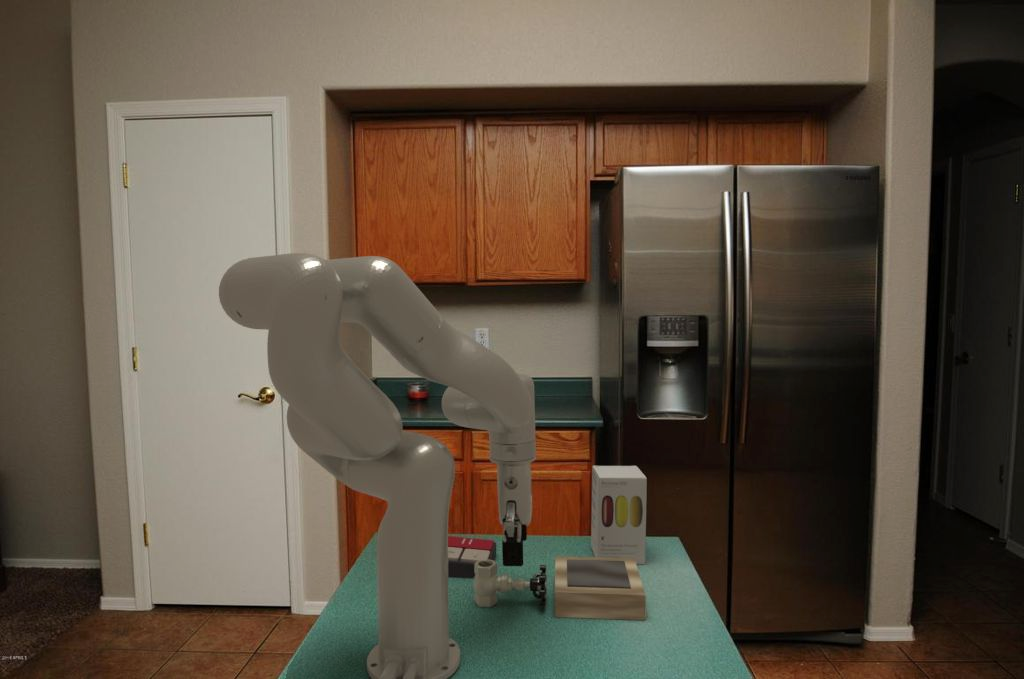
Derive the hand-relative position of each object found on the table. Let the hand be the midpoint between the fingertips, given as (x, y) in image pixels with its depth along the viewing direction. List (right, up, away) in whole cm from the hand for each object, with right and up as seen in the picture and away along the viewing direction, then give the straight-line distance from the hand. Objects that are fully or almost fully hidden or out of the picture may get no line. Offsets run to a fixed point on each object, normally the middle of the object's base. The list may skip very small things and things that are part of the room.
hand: (515, 552), depth 101 cm
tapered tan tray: (+14, -8, +2) cm, 16 cm away
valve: (-1, -9, 0) cm, 9 cm away
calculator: (-12, -8, +15) cm, 21 cm away
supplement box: (+20, -8, +19) cm, 29 cm away
